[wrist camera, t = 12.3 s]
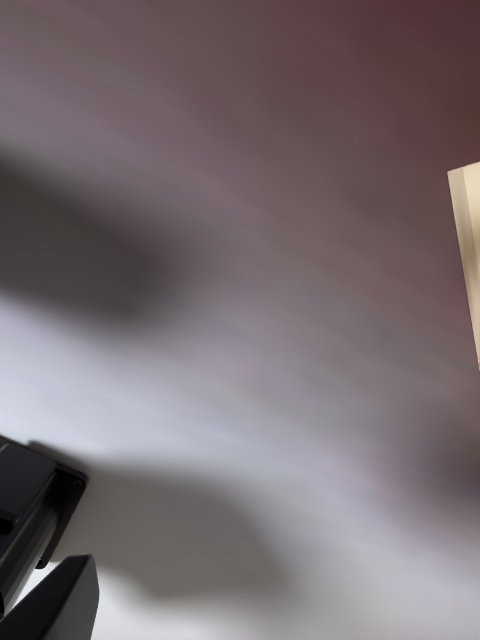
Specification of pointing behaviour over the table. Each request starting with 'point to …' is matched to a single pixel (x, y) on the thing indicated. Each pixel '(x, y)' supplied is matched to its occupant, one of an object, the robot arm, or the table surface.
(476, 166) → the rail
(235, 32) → the table surface
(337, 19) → the table surface
